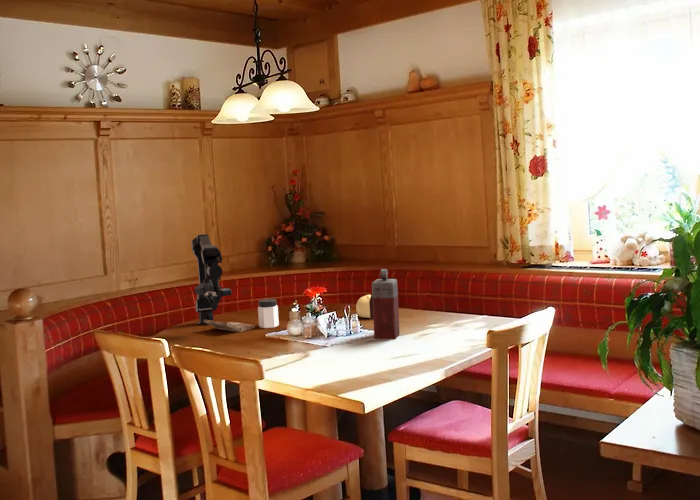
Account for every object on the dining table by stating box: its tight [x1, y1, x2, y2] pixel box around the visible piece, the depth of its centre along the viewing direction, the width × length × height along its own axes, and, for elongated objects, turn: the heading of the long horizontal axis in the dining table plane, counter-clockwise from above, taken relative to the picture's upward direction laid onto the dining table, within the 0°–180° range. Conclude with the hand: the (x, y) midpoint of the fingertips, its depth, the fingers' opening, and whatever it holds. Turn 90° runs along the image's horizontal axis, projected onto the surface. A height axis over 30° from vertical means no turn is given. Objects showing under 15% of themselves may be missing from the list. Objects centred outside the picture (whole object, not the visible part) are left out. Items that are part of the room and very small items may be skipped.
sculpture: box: [355, 294, 372, 319], centre depth 359 cm, size 11×12×11 cm
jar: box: [257, 298, 280, 329], centre depth 349 cm, size 9×8×12 cm
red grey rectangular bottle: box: [369, 268, 400, 340], centre depth 316 cm, size 9×11×28 cm
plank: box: [203, 320, 240, 332], centre depth 343 cm, size 16×8×1 cm, turn 50°
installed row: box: [216, 321, 256, 333], centre depth 349 cm, size 16×9×2 cm, turn 50°
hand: (214, 310), depth 339 cm, fingers closed
